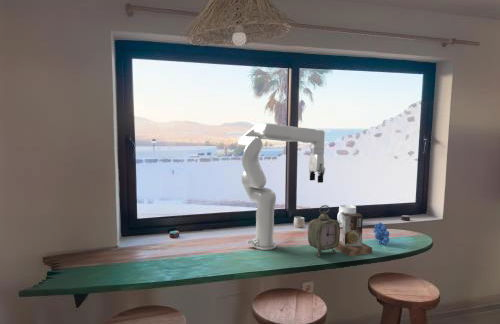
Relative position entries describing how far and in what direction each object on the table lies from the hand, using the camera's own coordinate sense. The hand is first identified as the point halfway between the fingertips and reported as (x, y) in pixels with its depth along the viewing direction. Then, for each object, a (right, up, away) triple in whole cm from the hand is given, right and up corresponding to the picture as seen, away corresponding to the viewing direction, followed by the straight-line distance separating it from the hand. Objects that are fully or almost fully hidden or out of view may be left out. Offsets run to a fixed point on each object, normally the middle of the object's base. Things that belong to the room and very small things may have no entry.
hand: (316, 181), depth 197 cm
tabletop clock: (-1, -36, -23) cm, 43 cm away
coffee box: (+15, -32, -18) cm, 40 cm away
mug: (+26, -32, +31) cm, 52 cm away
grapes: (+34, -35, -7) cm, 49 cm away
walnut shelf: (+15, -35, -18) cm, 42 cm away
